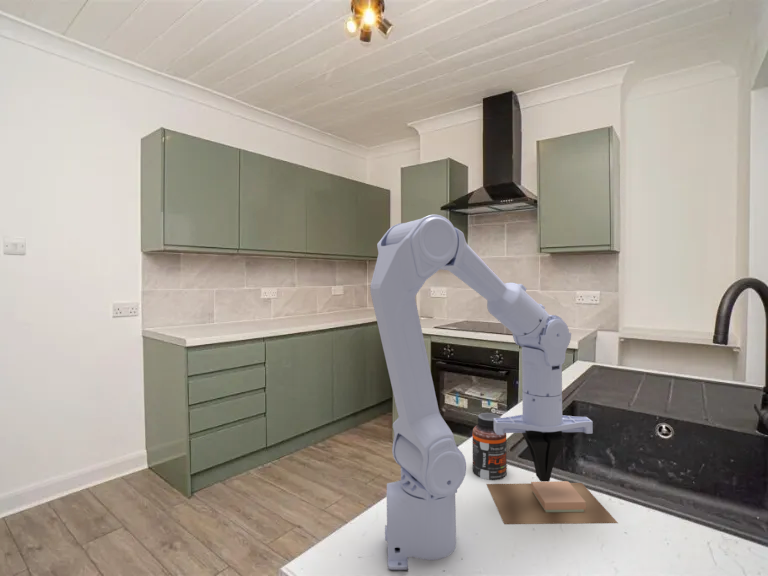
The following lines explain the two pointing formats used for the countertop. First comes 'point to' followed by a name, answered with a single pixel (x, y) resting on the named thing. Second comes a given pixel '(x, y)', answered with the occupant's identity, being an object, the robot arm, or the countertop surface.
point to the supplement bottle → (489, 449)
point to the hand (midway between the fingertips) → (542, 478)
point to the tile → (558, 496)
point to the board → (526, 509)
